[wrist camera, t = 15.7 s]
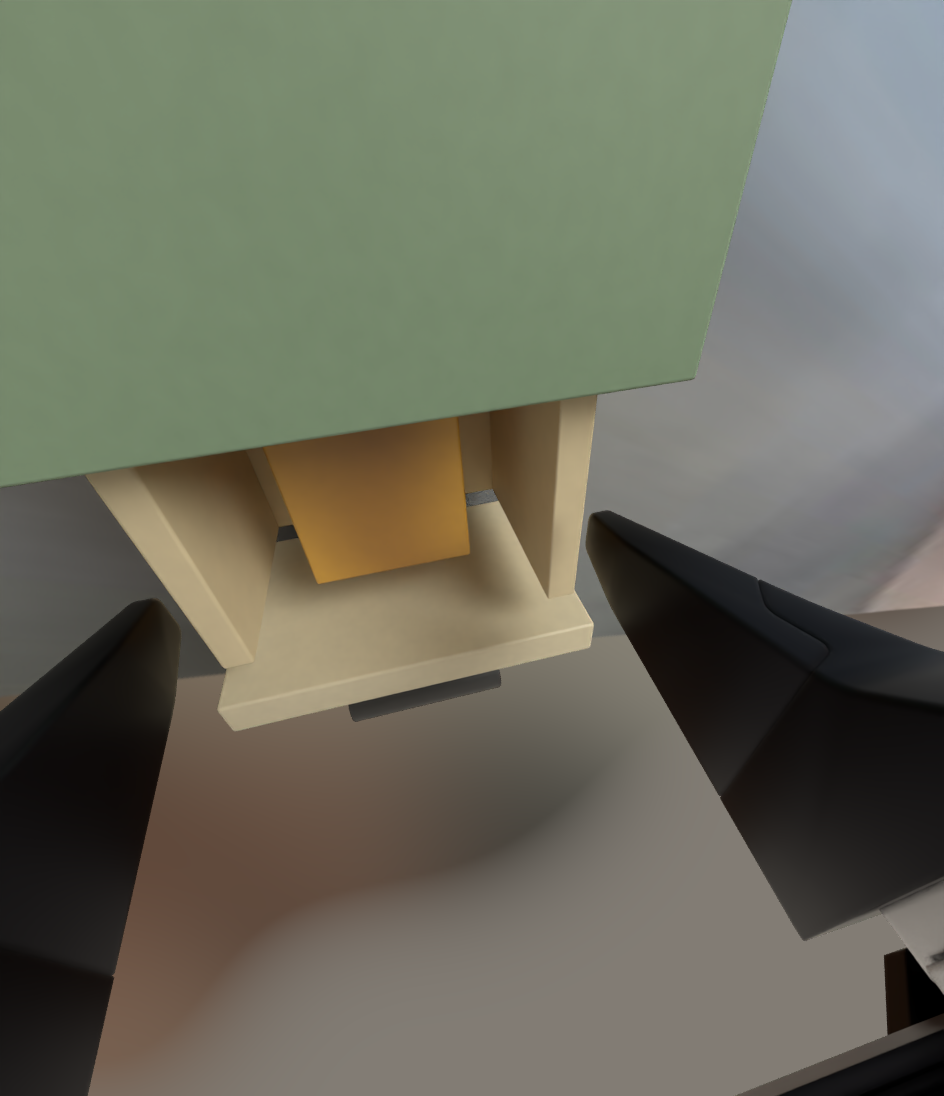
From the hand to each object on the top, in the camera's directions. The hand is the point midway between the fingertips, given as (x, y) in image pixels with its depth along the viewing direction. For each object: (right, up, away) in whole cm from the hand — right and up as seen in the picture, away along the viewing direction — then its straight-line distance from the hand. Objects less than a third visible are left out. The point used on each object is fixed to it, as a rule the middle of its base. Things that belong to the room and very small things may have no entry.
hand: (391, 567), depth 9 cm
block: (-2, +4, +5) cm, 7 cm away
